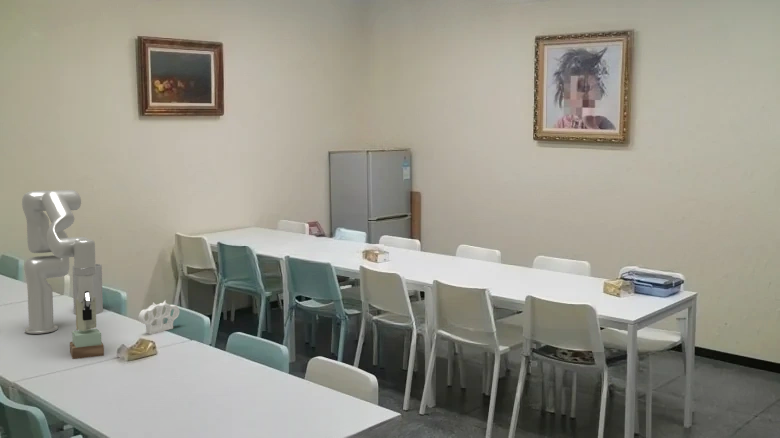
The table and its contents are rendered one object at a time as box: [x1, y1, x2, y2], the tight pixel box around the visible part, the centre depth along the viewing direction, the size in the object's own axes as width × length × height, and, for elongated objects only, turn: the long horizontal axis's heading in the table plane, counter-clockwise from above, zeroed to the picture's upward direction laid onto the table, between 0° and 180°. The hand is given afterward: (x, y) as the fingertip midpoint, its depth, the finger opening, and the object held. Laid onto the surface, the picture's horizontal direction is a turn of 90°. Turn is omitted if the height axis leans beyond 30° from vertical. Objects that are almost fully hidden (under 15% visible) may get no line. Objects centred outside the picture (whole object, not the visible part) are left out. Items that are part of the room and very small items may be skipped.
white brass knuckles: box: [138, 300, 180, 335], centre depth 320 cm, size 3×18×15 cm, turn 142°
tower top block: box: [71, 328, 103, 348], centre depth 289 cm, size 9×9×4 cm
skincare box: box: [75, 297, 97, 331], centre depth 288 cm, size 6×4×12 cm
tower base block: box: [69, 340, 105, 360], centre depth 289 cm, size 11×11×4 cm
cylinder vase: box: [72, 263, 104, 316], centre depth 350 cm, size 12×12×25 cm
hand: (86, 317), depth 288 cm, fingers closed on skincare box, 7 cm apart
